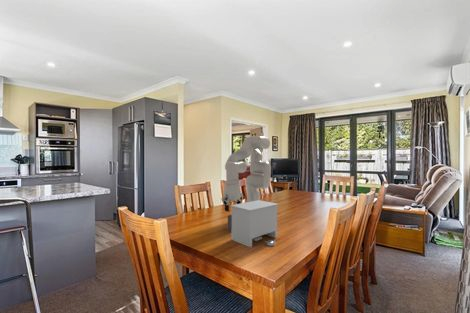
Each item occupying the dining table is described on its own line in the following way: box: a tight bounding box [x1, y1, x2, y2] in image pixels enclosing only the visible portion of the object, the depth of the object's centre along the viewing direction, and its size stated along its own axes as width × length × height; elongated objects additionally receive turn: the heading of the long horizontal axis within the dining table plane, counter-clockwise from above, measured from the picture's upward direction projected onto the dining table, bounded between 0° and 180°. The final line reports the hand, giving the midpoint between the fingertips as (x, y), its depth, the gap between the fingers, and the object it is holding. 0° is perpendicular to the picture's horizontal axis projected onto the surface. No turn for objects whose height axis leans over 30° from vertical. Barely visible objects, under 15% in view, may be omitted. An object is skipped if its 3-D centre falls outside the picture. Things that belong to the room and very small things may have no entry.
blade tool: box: [227, 214, 263, 242], centre depth 136 cm, size 5×24×9 cm, turn 42°
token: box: [265, 239, 276, 247], centre depth 121 cm, size 5×5×2 cm
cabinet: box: [229, 199, 279, 248], centre depth 129 cm, size 23×15×19 cm, turn 132°
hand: (232, 209), depth 144 cm, fingers open, 9 cm apart
